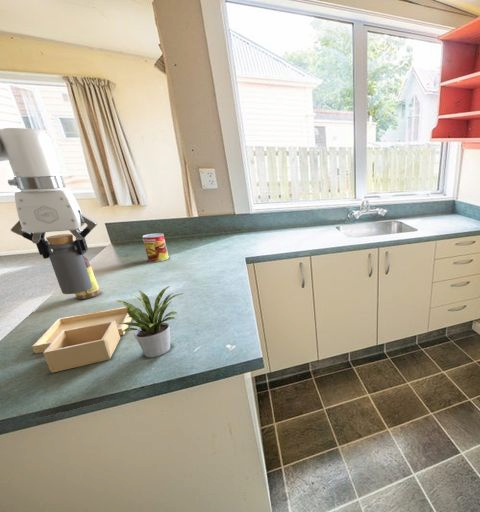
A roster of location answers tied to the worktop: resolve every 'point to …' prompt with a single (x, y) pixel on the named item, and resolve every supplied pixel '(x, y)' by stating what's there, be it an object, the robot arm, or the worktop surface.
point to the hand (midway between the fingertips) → (65, 254)
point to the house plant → (151, 324)
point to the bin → (82, 346)
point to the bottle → (68, 264)
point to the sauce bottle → (95, 288)
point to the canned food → (155, 247)
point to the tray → (82, 325)
